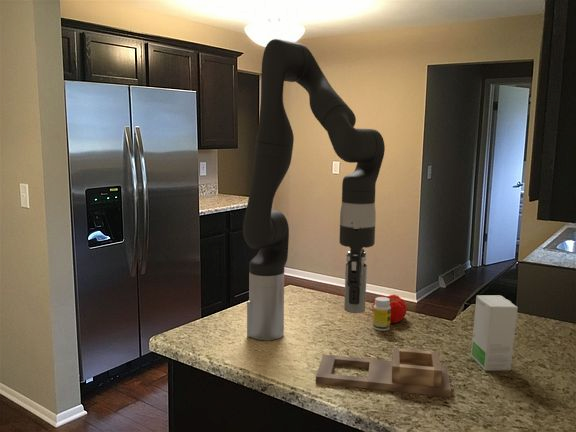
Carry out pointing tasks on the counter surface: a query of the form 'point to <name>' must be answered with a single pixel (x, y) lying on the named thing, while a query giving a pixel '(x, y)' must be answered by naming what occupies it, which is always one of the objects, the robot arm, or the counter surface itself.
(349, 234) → the robot arm
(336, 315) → the counter surface
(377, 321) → the supplement bottle
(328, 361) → the socket board
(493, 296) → the skincare box
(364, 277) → the grey hollow tube
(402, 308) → the tomato
